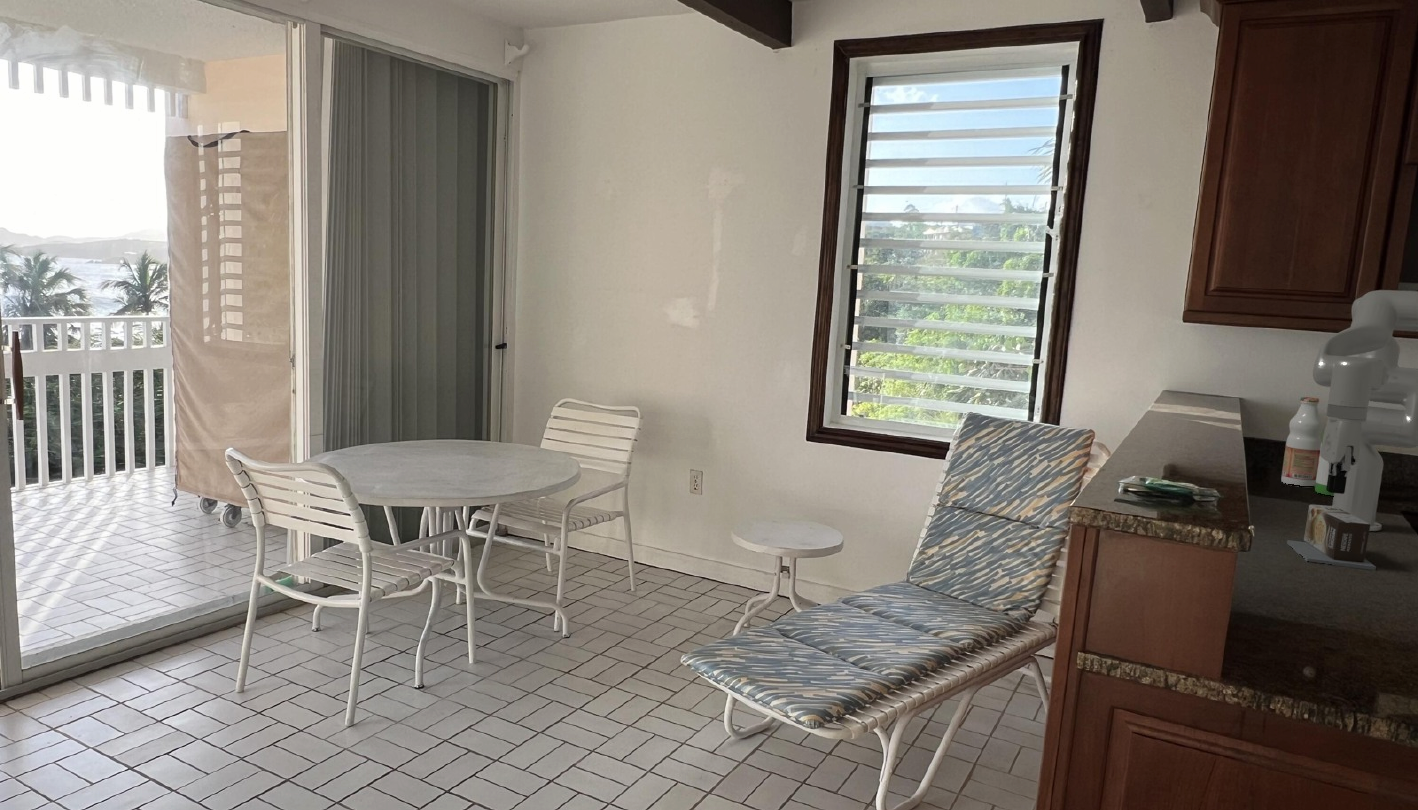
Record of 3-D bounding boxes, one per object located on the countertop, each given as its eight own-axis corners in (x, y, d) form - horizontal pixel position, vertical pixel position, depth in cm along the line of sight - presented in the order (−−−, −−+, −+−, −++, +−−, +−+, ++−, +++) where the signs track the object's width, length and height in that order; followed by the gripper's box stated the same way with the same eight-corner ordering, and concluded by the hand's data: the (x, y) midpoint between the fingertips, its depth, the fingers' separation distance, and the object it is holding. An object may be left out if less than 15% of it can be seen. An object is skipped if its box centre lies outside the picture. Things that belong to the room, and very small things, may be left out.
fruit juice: (1273, 481, 294) (1285, 395, 290) (1297, 481, 296) (1309, 396, 292) (1298, 487, 285) (1310, 399, 281) (1322, 487, 287) (1335, 400, 283)
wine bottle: (1351, 498, 273) (1365, 399, 269) (1325, 497, 273) (1339, 398, 269) (1333, 492, 281) (1347, 396, 277) (1308, 491, 281) (1322, 395, 277)
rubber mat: (1286, 543, 218) (1287, 540, 218) (1349, 550, 214) (1350, 547, 214) (1307, 562, 203) (1307, 558, 203) (1375, 570, 199) (1375, 566, 199)
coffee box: (1307, 503, 217) (1338, 519, 201) (1337, 506, 216) (1371, 522, 200) (1302, 541, 218) (1333, 559, 203) (1332, 544, 217) (1365, 563, 201)
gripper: (1317, 408, 214) (1306, 484, 217) (1338, 416, 200) (1326, 497, 202) (1354, 411, 212) (1342, 487, 214) (1378, 419, 198) (1366, 501, 200)
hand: (1335, 492), depth 208 cm, fingers closed
